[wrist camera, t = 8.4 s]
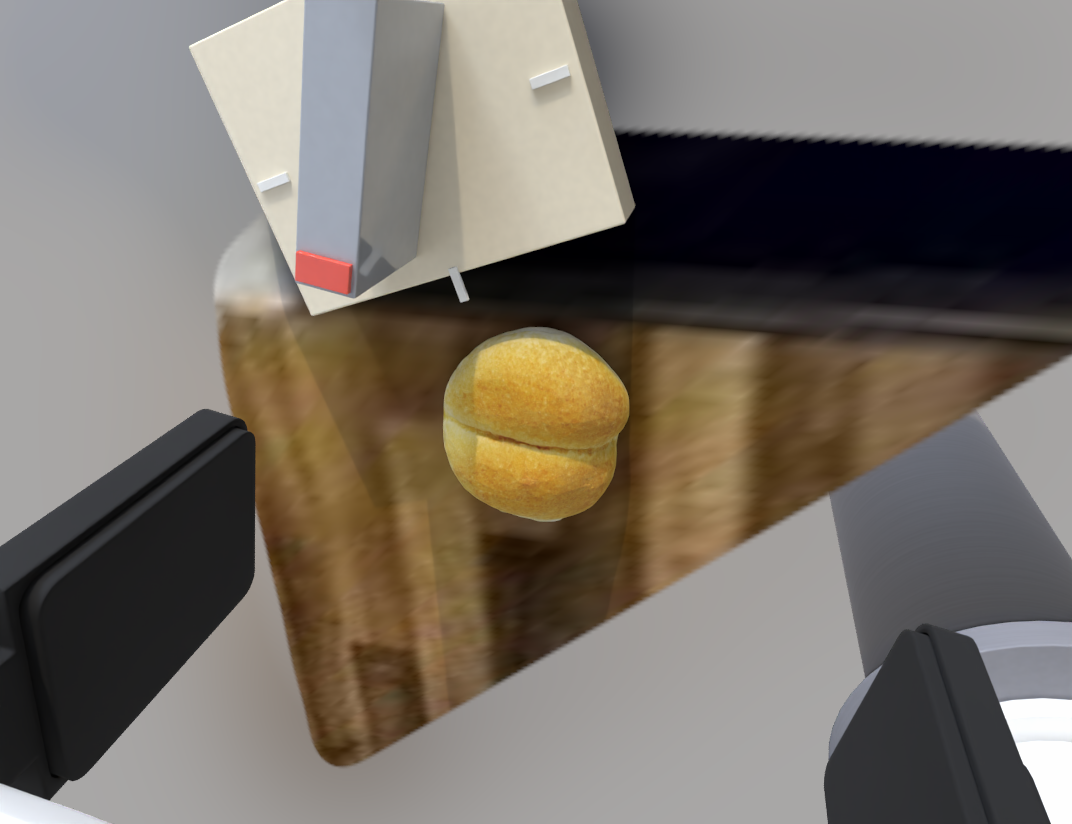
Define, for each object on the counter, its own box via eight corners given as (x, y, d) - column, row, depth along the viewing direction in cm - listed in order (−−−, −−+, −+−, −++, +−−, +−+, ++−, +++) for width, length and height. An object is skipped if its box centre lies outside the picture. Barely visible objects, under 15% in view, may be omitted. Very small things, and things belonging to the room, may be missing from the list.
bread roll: (646, 342, 32) (635, 379, 29) (604, 512, 37) (590, 561, 33) (463, 299, 33) (431, 329, 30) (443, 468, 38) (413, 512, 34)
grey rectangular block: (385, -11, 26) (299, -23, 21) (445, 2, 26) (374, -7, 21) (365, 244, 30) (290, 285, 25) (416, 258, 30) (351, 302, 25)
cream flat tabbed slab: (538, -139, 26) (514, -160, 23) (643, 234, 30) (634, 254, 28) (221, 17, 31) (169, 15, 28) (353, 318, 35) (320, 342, 32)
